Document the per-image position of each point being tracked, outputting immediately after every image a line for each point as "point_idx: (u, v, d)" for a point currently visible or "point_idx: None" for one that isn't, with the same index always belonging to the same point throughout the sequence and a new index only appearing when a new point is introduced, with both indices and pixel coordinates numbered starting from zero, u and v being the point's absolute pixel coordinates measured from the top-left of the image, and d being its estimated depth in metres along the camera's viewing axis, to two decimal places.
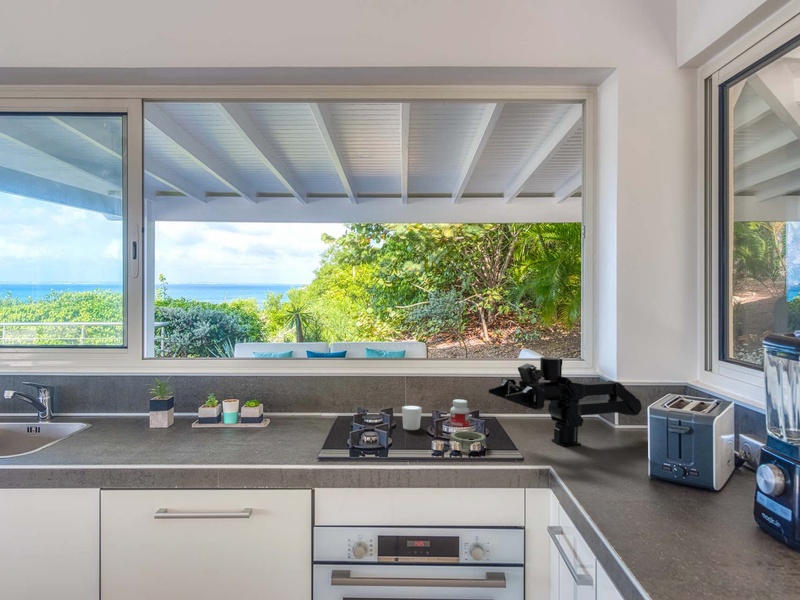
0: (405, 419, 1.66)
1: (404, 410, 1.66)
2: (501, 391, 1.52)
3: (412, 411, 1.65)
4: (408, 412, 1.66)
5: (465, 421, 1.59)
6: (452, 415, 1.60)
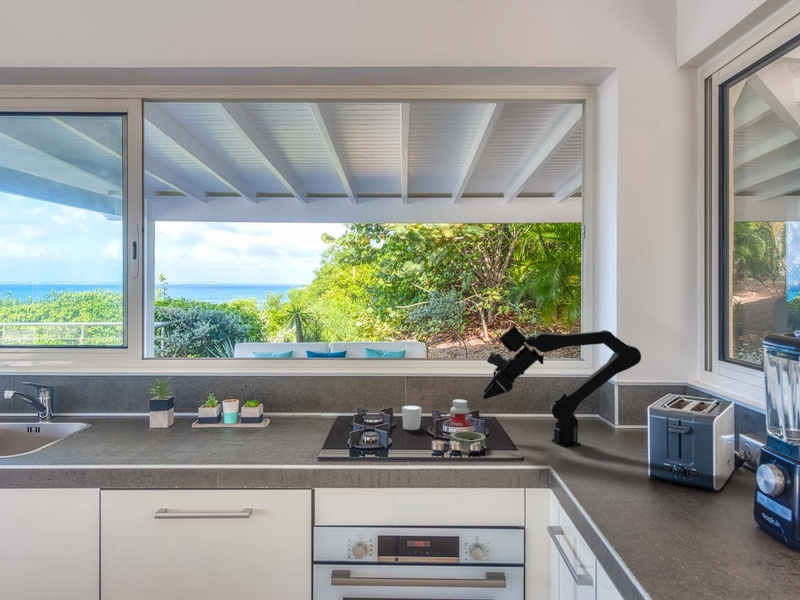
0: (405, 419, 1.66)
1: (404, 410, 1.66)
2: None
3: (412, 411, 1.65)
4: (408, 412, 1.66)
5: (465, 421, 1.59)
6: (452, 415, 1.60)
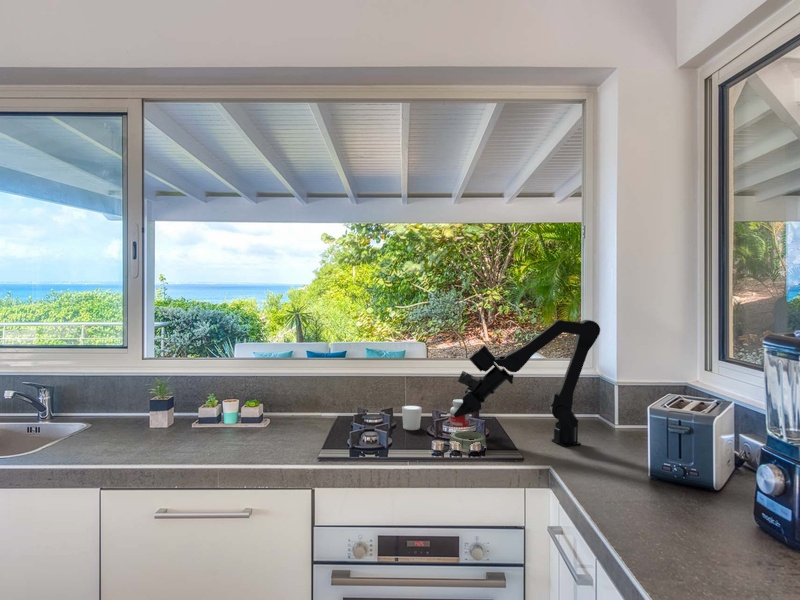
0: (405, 419, 1.66)
1: (404, 410, 1.66)
2: None
3: (412, 411, 1.65)
4: (408, 412, 1.66)
5: (465, 421, 1.59)
6: (452, 415, 1.60)
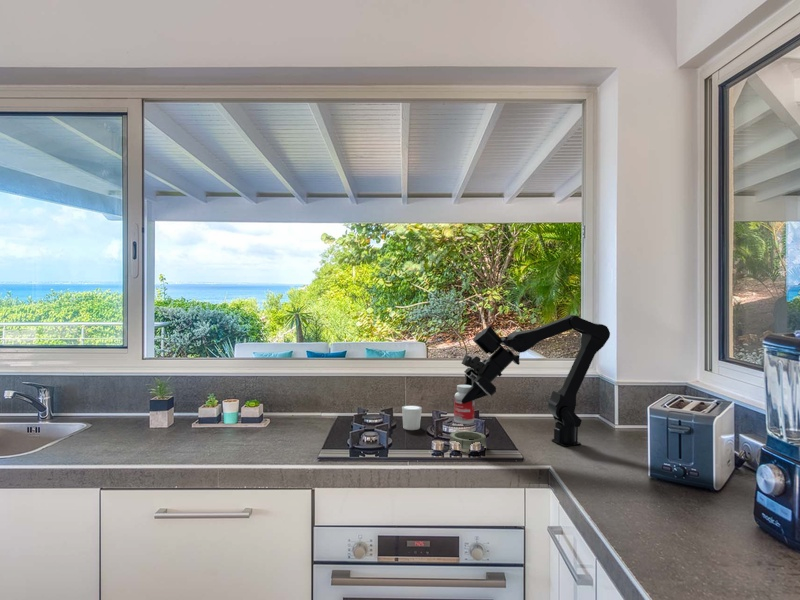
0: (405, 419, 1.66)
1: (404, 410, 1.66)
2: None
3: (412, 411, 1.65)
4: (408, 412, 1.66)
5: (472, 407, 1.50)
6: (459, 401, 1.50)
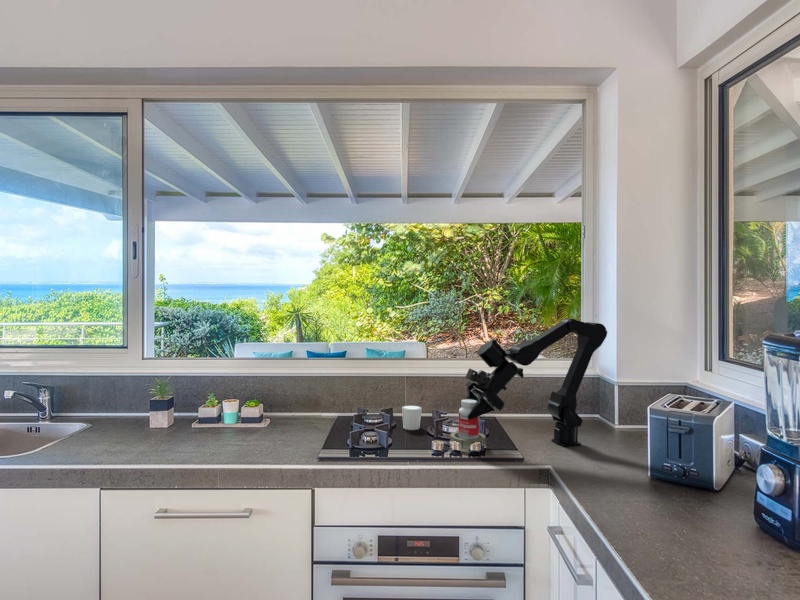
0: (405, 419, 1.66)
1: (404, 410, 1.66)
2: None
3: (412, 411, 1.65)
4: (408, 412, 1.66)
5: (478, 422, 1.46)
6: (464, 417, 1.45)
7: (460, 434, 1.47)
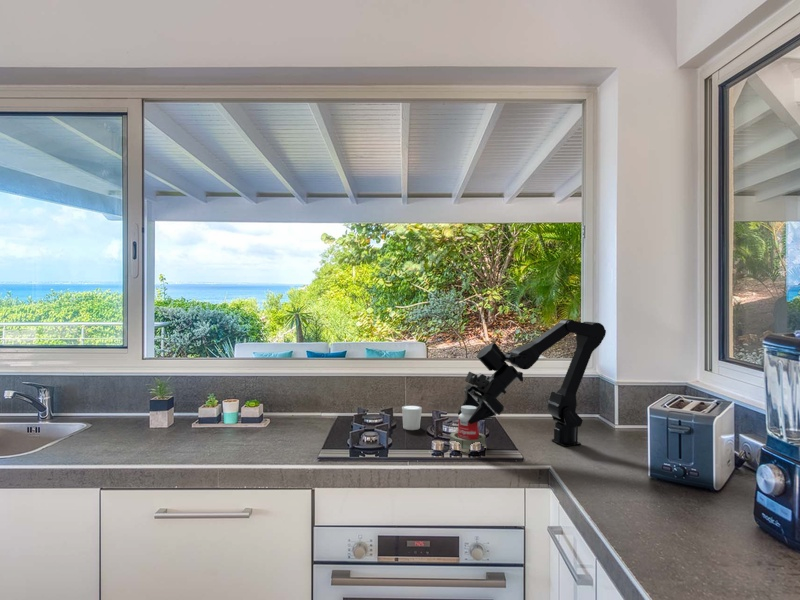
0: (405, 419, 1.66)
1: (404, 410, 1.66)
2: (469, 405, 1.53)
3: (412, 411, 1.65)
4: (408, 412, 1.66)
5: (477, 429, 1.46)
6: (464, 423, 1.45)
7: None
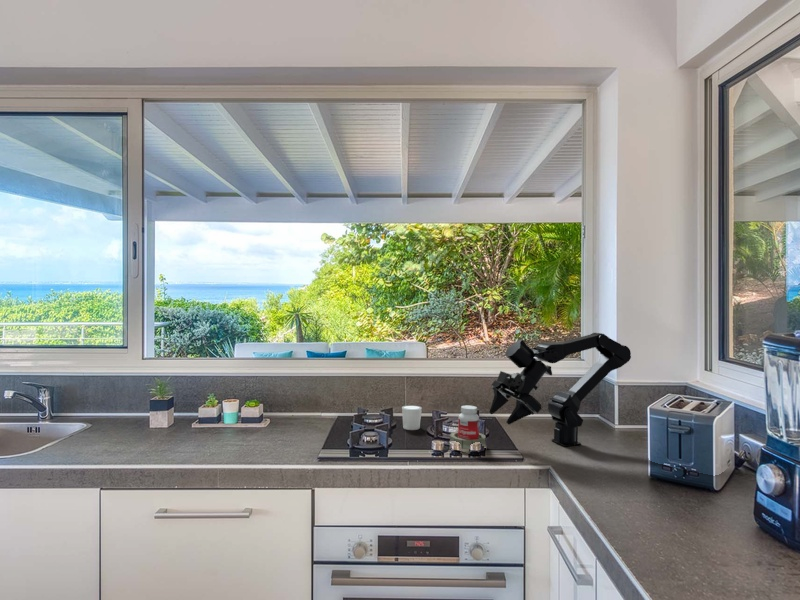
0: (405, 419, 1.66)
1: (404, 410, 1.66)
2: (499, 402, 1.54)
3: (412, 411, 1.65)
4: (408, 412, 1.66)
5: (477, 429, 1.46)
6: (464, 423, 1.45)
7: None
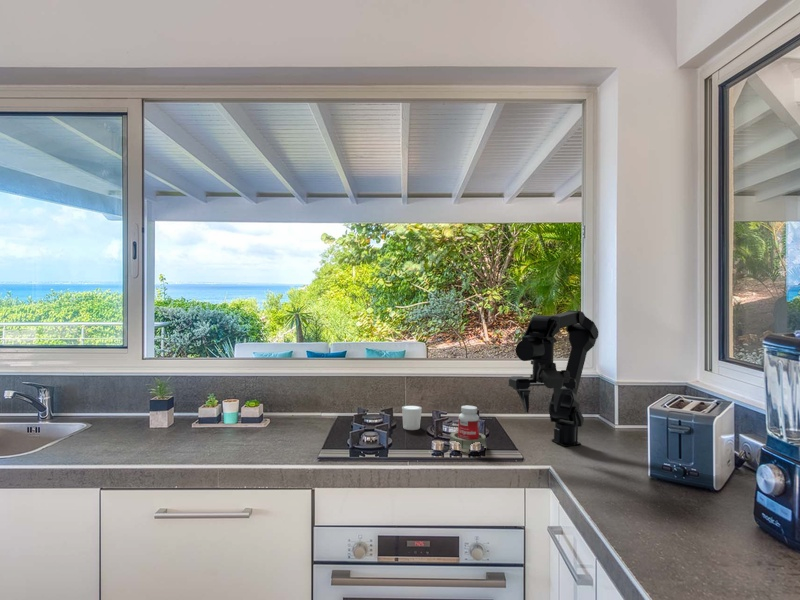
0: (405, 419, 1.66)
1: (404, 410, 1.66)
2: None
3: (412, 411, 1.65)
4: (408, 412, 1.66)
5: (478, 429, 1.46)
6: (464, 423, 1.45)
7: None
